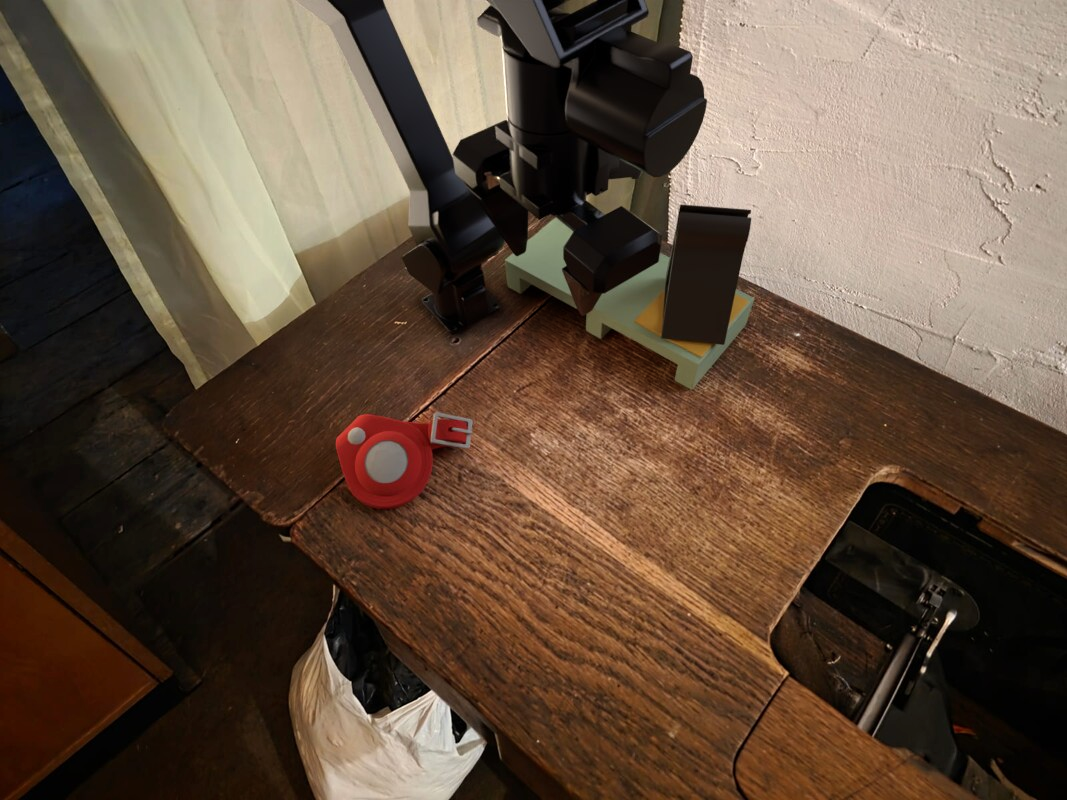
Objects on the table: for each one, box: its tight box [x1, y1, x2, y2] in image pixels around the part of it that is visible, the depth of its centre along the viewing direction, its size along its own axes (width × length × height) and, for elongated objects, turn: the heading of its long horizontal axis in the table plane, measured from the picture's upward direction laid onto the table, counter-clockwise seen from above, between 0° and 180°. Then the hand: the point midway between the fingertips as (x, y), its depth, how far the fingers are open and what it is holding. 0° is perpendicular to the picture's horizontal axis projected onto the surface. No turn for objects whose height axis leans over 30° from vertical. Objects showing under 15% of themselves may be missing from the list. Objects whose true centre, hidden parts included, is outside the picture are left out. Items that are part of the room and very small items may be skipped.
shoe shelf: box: [504, 216, 755, 391], centre depth 72 cm, size 24×11×4 cm, turn 51°
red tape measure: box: [335, 411, 474, 510], centre depth 62 cm, size 12×4×10 cm
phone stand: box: [661, 203, 752, 345], centre depth 62 cm, size 9×6×12 cm, turn 170°
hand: (551, 281), depth 58 cm, fingers open, 9 cm apart
